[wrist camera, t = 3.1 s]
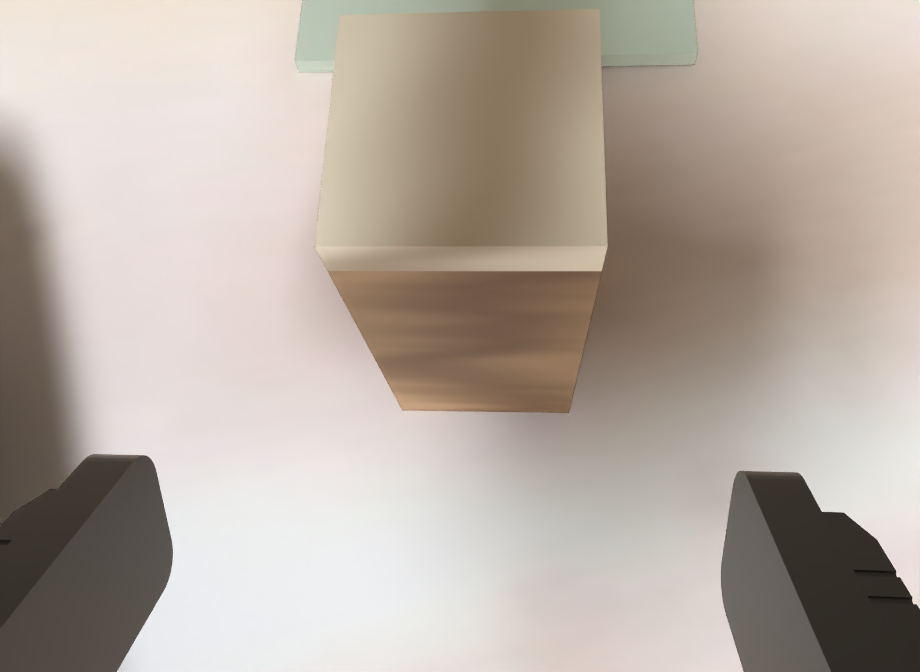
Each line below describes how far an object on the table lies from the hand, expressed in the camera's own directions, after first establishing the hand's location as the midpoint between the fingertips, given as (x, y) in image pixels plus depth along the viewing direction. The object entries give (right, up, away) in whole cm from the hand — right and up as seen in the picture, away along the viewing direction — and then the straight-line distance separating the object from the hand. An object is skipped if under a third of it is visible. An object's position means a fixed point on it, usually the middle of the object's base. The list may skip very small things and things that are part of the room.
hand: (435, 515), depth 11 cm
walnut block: (+1, +3, +14) cm, 14 cm away
